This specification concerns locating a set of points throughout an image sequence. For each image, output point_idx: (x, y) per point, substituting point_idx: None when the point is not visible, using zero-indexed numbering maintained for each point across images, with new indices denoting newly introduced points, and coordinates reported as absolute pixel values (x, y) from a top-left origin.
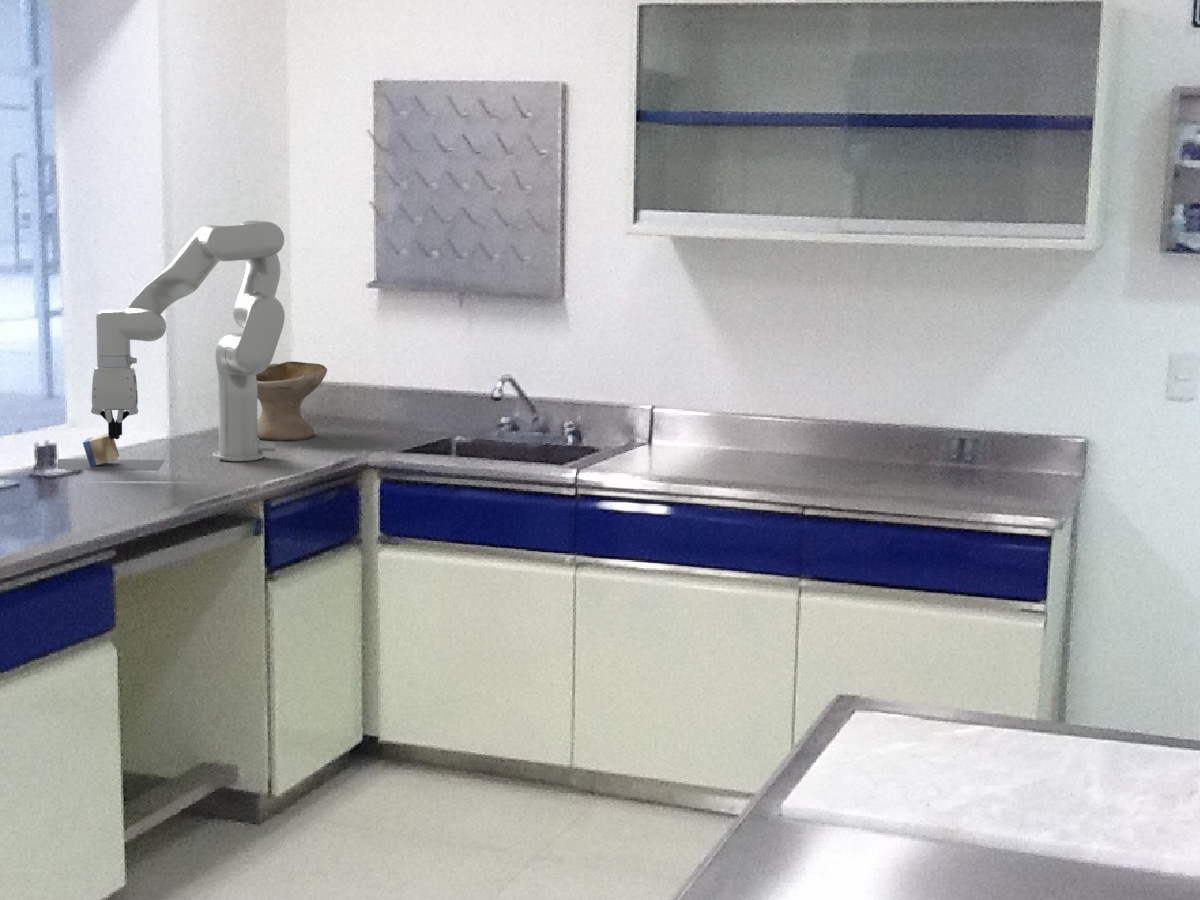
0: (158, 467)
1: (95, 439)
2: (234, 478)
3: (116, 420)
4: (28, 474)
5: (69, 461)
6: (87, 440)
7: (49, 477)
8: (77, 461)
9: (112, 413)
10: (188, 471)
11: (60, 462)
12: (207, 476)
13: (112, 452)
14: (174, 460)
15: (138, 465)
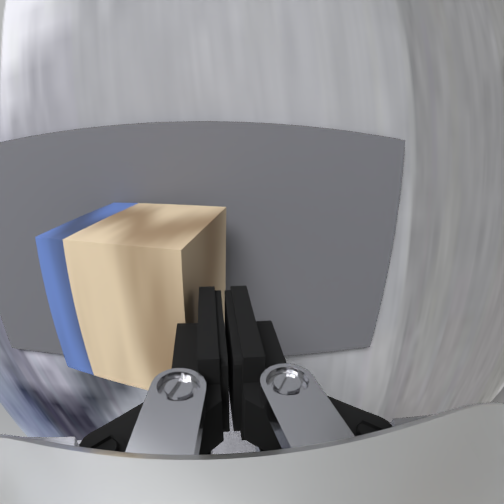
0: (377, 302)
1: (124, 383)
2: (486, 367)
3: (251, 437)
4: (10, 377)
5: (22, 196)
6: (68, 331)
7: (73, 415)
8: (47, 192)
9: (198, 432)
10: (441, 313)
11: (3, 223)
12: (457, 363)
13: None
14: (425, 107)
15: (311, 270)
